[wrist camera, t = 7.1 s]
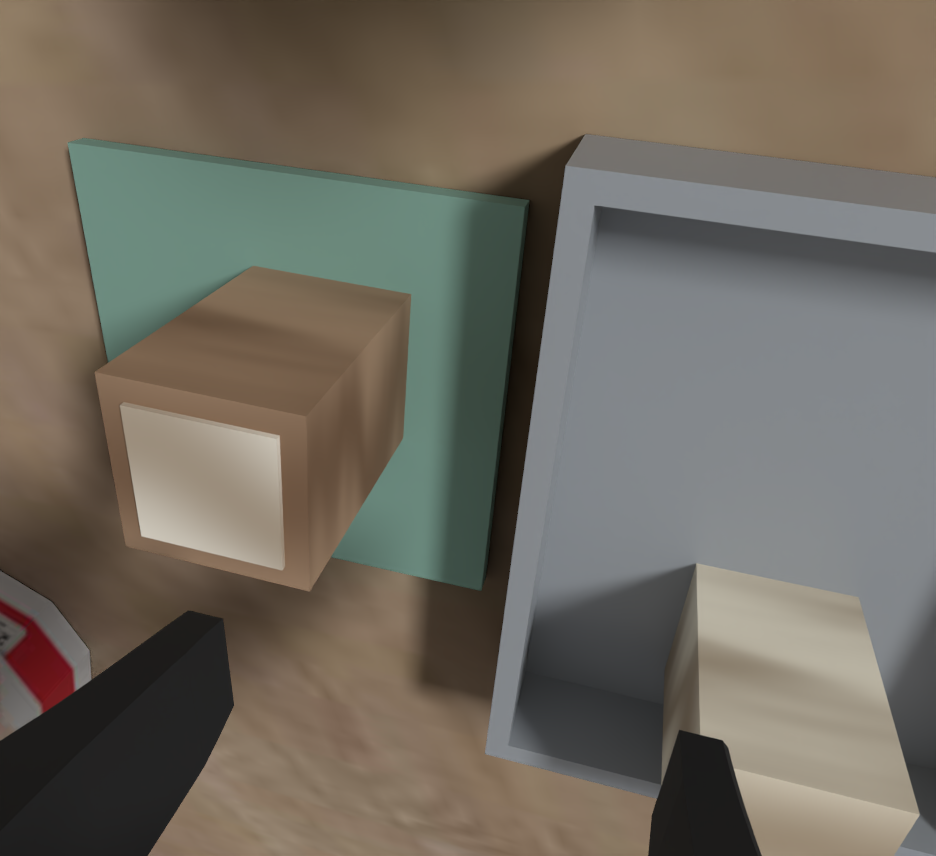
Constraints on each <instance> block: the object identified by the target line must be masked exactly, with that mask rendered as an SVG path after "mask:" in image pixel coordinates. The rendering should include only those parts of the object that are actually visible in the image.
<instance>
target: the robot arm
mask: <svg viewBox="0 0 936 856" xmlns="http://www.w3.org/2000/svg"><path fill="white" fill-rule="evenodd" d="M233 706H234V701H233V693H232V686H231V678H230V670H229V662H228V654H227V646H226V639H225V631H224V623H223V619H222V618H218V617H213V616H209V615H205V614H201V613H197V612H193V611H187V612H186V613H184V614H183V615H181V616H180V617H178V618H177V619H176V620H174V621H173V622H171V623H170V624H168V625H167V626H166V627H164V628H163V629H162V630H160V631H159V632H157V633H156V634H155V635H153V636H152V637H150V638H149V639H148V640H146V641H145V642H144V643H142V644H141V645H140V646H138V647H137V648H135V649H134V650H133V651H131V652H130V653H128V654H127V655H126V656H124V657H123V658H122V659H120V660H119V661H117V662H116V663H115V664H113V665H112V666H110V667H109V668H108V669H106V670H105V671H103V672H102V673H101V674H99V675H98V676H96V677H95V678H93V679H92V680H91V681H89V682H88V683H86V684H85V685H83V686H82V687H80V688H79V689H78V690H76V691H75V692H73V693H72V694H70V695H69V696H68V697H66V698H65V699H63V700H62V701H60V702H59V703H57V704H56V705H54V706H53V707H51V708H50V709H48V710H47V711H45V712H44V713H42V714H41V715H39V716H38V717H36V718H35V719H33V720H31V721H30V722H28V723H27V724H25V725H24V726H22V727H21V728H19V729H17V730H16V731H14V732H13V733H11V734H10V735H8V736H7V737H5V738H3V739H2V740H0V856H148V854H149V853H150V851H151V850H152V848H153V846H154V845H155V843H156V842H157V840H158V839H159V837H160V836H161V834H162V832H163V831H164V829H165V828H166V826H167V825H168V823H169V822H170V820H171V818H172V817H173V815H174V814H175V812H176V811H177V809H178V807H179V806H180V804H181V803H182V801H183V800H184V798H185V796H186V795H187V793H188V792H189V790H190V788H191V787H192V785H193V784H194V782H195V781H196V779H197V777H198V776H199V774H200V772H201V771H202V769H203V768H204V766H205V764H206V762H207V760H208V758H209V756H210V754H211V752H212V750H213V748H214V746H215V744H216V742H217V740H218V738H219V736H220V734H221V732H222V730H223V728H224V725H225V723H226V721H227V719H228V717H229V715H230V713H231V711H232V708H233ZM648 856H762V855H761V852H760V849H759V847H758V844H757V841H756V838H755V835H754V832H753V829H752V826H751V823H750V820H749V817H748V814H747V811H746V808H745V805H744V802H743V799H742V796H741V792H740V789H739V786H738V782H737V779H736V775H735V772H734V768H733V764H732V761H731V757H730V753H729V748H728V747H727V745H726V744H725V743H724V741H723V740H720V739H715V738H711V737H707V736H703V735H699V734H695V733H691V732H687V731H683V730H679V732H678V735H677V738H676V741H675V744H674V747H673V751H672V754H671V757H670V760H669V763H668V766H667V770H666V773H665V776H664V779H663V782H662V785H661V788H660V792H659V795H658V798H657V801H656V804H655V807H654V811H653V814H652V821H651V832H650V843H649V855H648Z"/></svg>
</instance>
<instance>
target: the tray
mask: <svg viewBox="0 0 936 856" xmlns="http://www.w3.org/2000/svg"><path fill="white" fill-rule="evenodd" d="M696 563H698V564H702V565H707V566H712V567H717V568H721V569H726V570H731V571H736V572H740V573H745V574H750V575H755V576H760V577H764V578H769V579H774V580H779V581H783V582H788V583H793V584H798V585H802V586H807V587H812V588H817V589H822V590H826V591H831V592H836V593H841V594H845V595H850V596H855V597H859V600H860V604H861V607H862V611H863V614H864V618H865V621H866V625H867V629H868V632H869V636H870V639H871V643H872V646H873V650H874V653H875V657H876V661H877V664H878V668H879V671H880V675H881V678H882V682H883V685H884V689H885V693H886V696H887V700H888V703H889V707H890V710H891V714H892V717H893V721H894V725H895V728H896V732H897V735H898V739H899V742H900V746H901V749H902V753H903V757H904V760H905V764H906V767H907V771H908V774H909V778H910V781H911V785H912V788H913V792H914V796H915V799H916V803H917V806H918V810H919V813H920V815H919V817H918V819H917V820H916V822H915V823H914V825H913V826H912V828H911V830H910V831H909V833H908V834H907V836H906V837H905V839H904V841H903V842H902V844H901V845H900V847H899V848H898V850H897V852H896V853H895V855H894V856H936V177H928V176H920V175H912V174H904V173H896V172H888V171H880V170H872V169H864V168H856V167H848V166H839V165H831V164H823V163H815V162H807V161H799V160H791V159H783V158H775V157H767V156H759V155H751V154H743V153H734V152H726V151H718V150H710V149H702V148H694V147H686V146H678V145H670V144H662V143H654V142H646V141H637V140H629V139H621V138H613V137H605V136H597V135H589V134H585V136H584V137H583V139H582V140H581V142H580V144H579V145H578V147H577V148H576V150H575V152H574V153H573V155H572V156H571V158H570V160H569V161H568V163H567V164H566V167H565V174H564V181H563V188H562V196H561V203H560V210H559V218H558V225H557V232H556V240H555V247H554V254H553V261H552V269H551V276H550V283H549V291H548V298H547V305H546V312H545V320H544V327H543V334H542V342H541V349H540V356H539V364H538V371H537V378H536V385H535V393H534V400H533V407H532V415H531V422H530V429H529V437H528V444H527V451H526V458H525V466H524V473H523V480H522V488H521V495H520V502H519V509H518V517H517V524H516V531H515V539H514V546H513V553H512V561H511V568H510V575H509V582H508V590H507V597H506V604H505V612H504V619H503V626H502V633H501V641H500V648H499V655H498V663H497V670H496V677H495V685H494V692H493V699H492V706H491V714H490V721H489V728H488V736H487V743H486V750H485V754H487V755H491V756H495V757H499V758H503V759H507V760H510V761H514V762H518V763H522V764H526V765H530V766H533V767H537V768H541V769H545V770H549V771H553V772H556V773H560V774H564V775H568V776H572V777H576V778H580V779H583V780H587V781H591V782H595V783H599V784H603V785H606V786H610V787H614V788H618V789H622V790H626V791H629V792H633V793H637V794H641V795H645V796H649V797H652V798H656V799H657V798H658V795H659V792H660V788H661V777H662V742H663V706H664V671H665V667H666V663H667V660H668V657H669V653H670V650H671V647H672V643H673V640H674V637H675V633H676V630H677V627H678V623H679V620H680V617H681V613H682V610H683V607H684V603H685V600H686V597H687V593H688V590H689V587H690V583H691V580H692V577H693V573H694V570H695V567H696Z"/></svg>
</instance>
